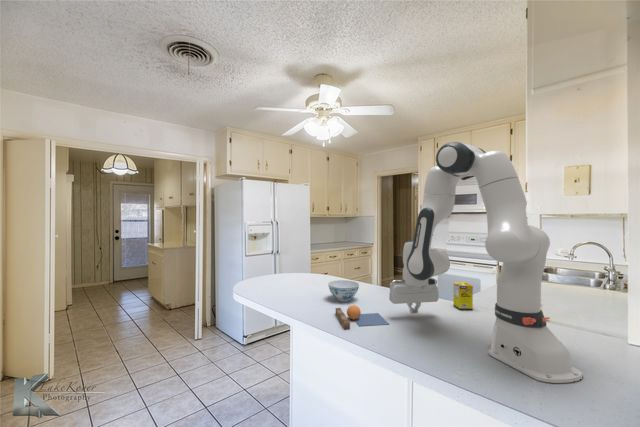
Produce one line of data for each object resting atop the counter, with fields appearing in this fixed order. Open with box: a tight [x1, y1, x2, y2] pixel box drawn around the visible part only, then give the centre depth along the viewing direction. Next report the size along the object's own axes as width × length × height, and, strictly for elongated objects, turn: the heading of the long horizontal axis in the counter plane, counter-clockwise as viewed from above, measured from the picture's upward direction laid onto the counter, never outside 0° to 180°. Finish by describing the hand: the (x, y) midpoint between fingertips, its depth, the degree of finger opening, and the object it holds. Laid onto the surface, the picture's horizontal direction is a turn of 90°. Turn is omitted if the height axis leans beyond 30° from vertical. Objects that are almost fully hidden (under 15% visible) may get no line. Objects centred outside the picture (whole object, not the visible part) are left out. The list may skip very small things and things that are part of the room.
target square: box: [354, 312, 390, 327], centre depth 115 cm, size 12×12×1 cm
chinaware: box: [328, 279, 360, 303], centre depth 141 cm, size 15×15×8 cm
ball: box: [346, 304, 362, 321], centre depth 115 cm, size 6×6×6 cm
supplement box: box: [453, 281, 474, 311], centre depth 129 cm, size 6×6×11 cm
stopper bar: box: [335, 307, 351, 330], centre depth 113 cm, size 16×2×2 cm, turn 9°
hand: (413, 313), depth 118 cm, fingers closed
